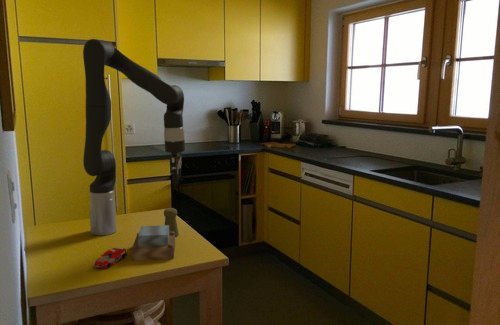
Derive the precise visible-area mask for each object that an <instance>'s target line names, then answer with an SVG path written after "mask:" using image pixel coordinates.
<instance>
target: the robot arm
mask: <svg viewBox="0 0 500 325" xmlns="http://www.w3.org/2000/svg"><path fill="white" fill-rule="evenodd" d="M82 56H83V57H82V58H83V66H84V67H83V68H84V74H85V75H84V76H85V138H84V147H83V148H84V150H83V158H82V159H83V169H84V171H85V173H86V174H87V175H89V176H90V177H95V178H94V180H93V181H92V182H91V183H90V184H89V198H90V199H89V201H90V211H89V220H90V223H89V225H90V235H95V236H108V235H111V234H114V233H115V232H116V233H117V216H116V200H115V184H116V181H117V179H116V178H117V173H116V172H117V170H116V169H117V164H116V158H115V155H114V154H113V153H112V152H111V151H109V150H108V149H102V143H103V139H104V135H105V133H106V132H107V129H108V127H109V125H110V122H111V119H112V100H111V96H110V95H111V94H110V93H109V89H108V87H107V84H106V80H105V79H106V78H105V66H107V67H109V68H111V69H114V70H116V71H118V72H120V73H121V74H123V75H124V76H125V77H126V78H127V79H128V80H129V81H131V82H132V83H133V84H134V85H136V86H138V87H139V88H140V89H142V90H144V91H146V92H148V93H149V94H151V95H152V96H153V97H154V98H155V99H156V100H158V101H159V102H161V103H163V104H165V105H166V111H165V112H164V114H163V126H164V127H163V138H164V140H163V141H164V142H163V143H164V151H165V153H167V154H168V153H169V154H170V155H171V156H170V157H169V159H168V160H169V167H170V168H169V170H170V174H171V182H172V185H178V184H179V180H180V179H182V165H183V164H182V163H183V162H182V153H184V152H185V151H186V142H185V141H186V139H185V131H184V130H185V129H184V121H183V120H184V119H183V111H184V104H185V94H184V91H183V89H182V88H181V87H180V86H178V85H170V84H169V83H166V81H164V80H162V78H161V77H160V76H159V75H157V74H156V73H155V72H152V71H150V70H149V69H148V68H146V67H144V66H142V65H140V64H138V63H137V62H135V61H133V60H132V59H131V58H129V57H128V56H126V55H125V54H124V53H122V52H121V51H120V50H119V49H117V48H116V46H114V45H113V44H112V43H110V42H109V41H107V40H103V39H96V38H91V39H88V40H87V41H86V42H85V44H84V45H83V51H82Z"/></svg>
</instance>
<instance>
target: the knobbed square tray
mask: <svg viewBox="0 0 500 325" xmlns="http://www.w3.org/2000/svg"><path fill="white" fill-rule="evenodd" d="M131 247H132V248H131V260H132V261H151V260H169V259H175V252H176V237H175V232H170V234H169V225H165V224H163V225H161V224H160V225H141V226H140V229H139V232H137V233H136V236H135V239H134V242H133V245H132V246H131Z"/></svg>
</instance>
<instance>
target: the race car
mask: <svg viewBox="0 0 500 325" xmlns="http://www.w3.org/2000/svg"><path fill="white" fill-rule="evenodd" d="M127 255H128V251H127V249H126V248H125V247H112V248H109V249H107V251H104V252H103V254H100V257H98V258H97V259H96V260H95V261H94V263H93V264H94V268H95V269H99V270H105V269H109V268H111V267H112V266H115V264H117V263H119V262H120V261H122V260H124V259H125V258H126V257H127Z"/></svg>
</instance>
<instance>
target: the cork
mask: <svg viewBox="0 0 500 325" xmlns="http://www.w3.org/2000/svg"><path fill="white" fill-rule="evenodd" d="M163 216H164V225H169V234H170V232H175V238H177V237H179V234H180V233H179V228H178V221H177V216H178V210H177V209H176V208H174V207H169V208H165V209H164V210H163Z"/></svg>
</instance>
